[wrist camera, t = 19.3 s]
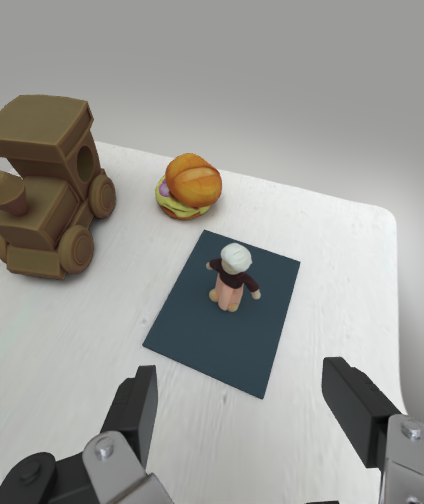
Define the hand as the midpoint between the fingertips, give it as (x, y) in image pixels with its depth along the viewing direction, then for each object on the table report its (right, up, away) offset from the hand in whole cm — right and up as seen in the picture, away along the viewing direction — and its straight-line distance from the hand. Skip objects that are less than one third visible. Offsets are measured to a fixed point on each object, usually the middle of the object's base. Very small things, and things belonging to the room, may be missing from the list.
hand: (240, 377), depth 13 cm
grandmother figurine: (+1, -1, +25) cm, 25 cm away
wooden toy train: (-24, +9, +33) cm, 42 cm away
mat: (+1, -1, +26) cm, 26 cm away
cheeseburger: (-5, +15, +36) cm, 39 cm away
